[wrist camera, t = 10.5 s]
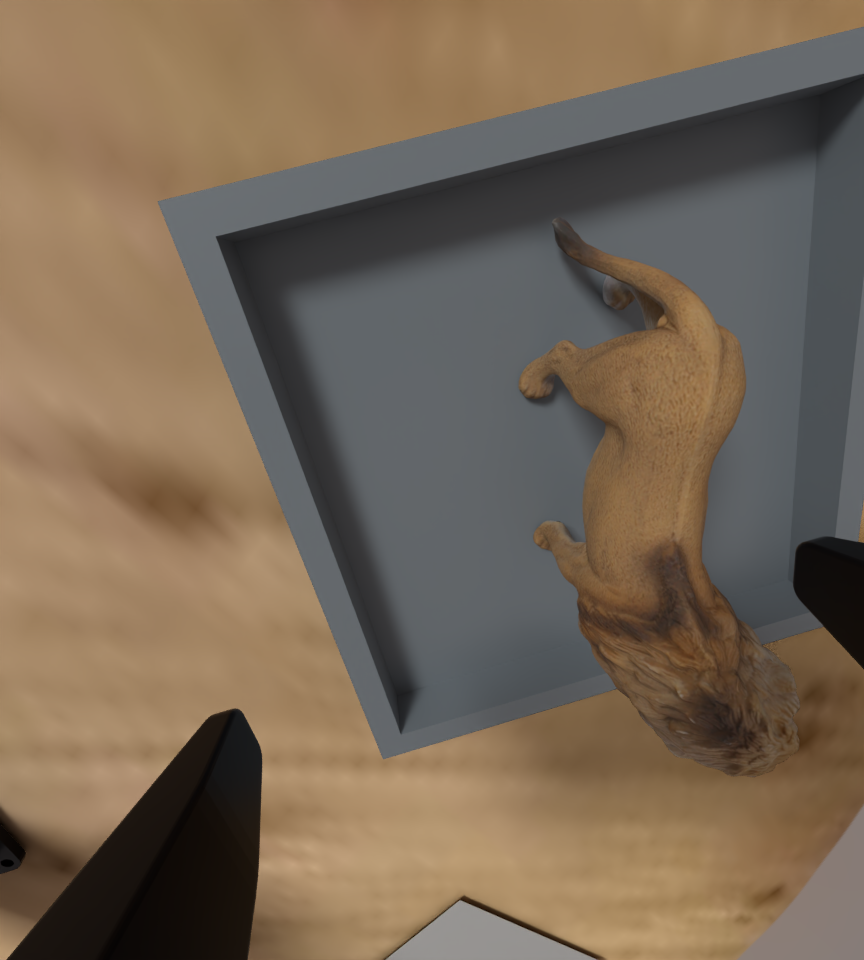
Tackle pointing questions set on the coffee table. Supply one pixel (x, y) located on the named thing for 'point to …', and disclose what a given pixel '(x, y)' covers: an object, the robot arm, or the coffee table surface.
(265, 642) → the coffee table surface
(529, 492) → the tray
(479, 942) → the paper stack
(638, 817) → the coffee table surface
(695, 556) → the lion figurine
